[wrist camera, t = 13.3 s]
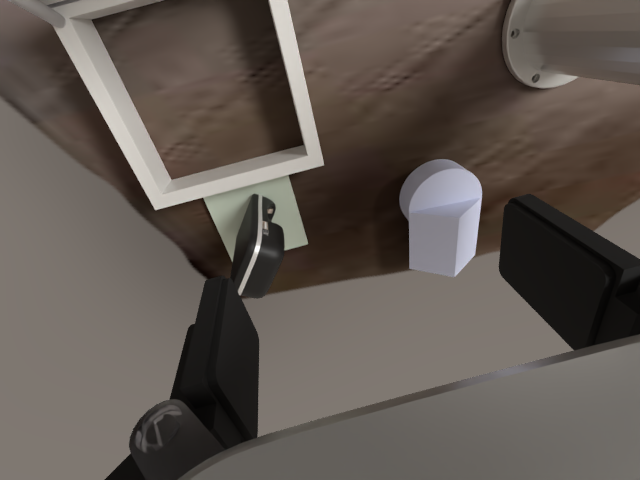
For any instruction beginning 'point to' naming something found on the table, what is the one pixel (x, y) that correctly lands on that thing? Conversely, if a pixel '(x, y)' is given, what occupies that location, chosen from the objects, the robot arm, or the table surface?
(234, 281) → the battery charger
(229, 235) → the pad
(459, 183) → the wedge on round base
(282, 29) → the white bent frame
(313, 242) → the table surface
